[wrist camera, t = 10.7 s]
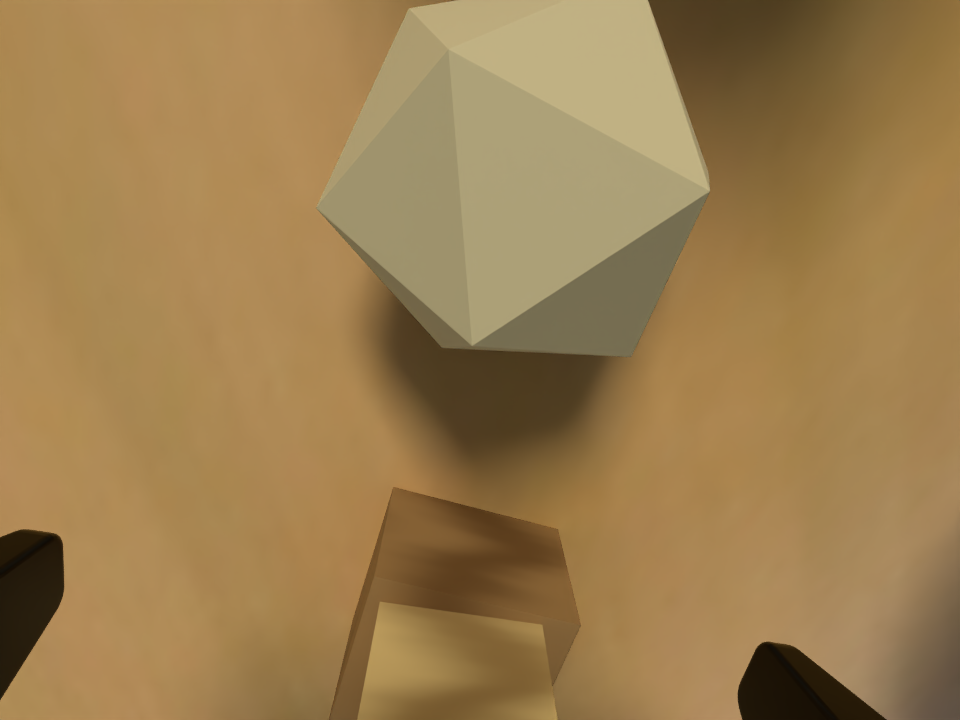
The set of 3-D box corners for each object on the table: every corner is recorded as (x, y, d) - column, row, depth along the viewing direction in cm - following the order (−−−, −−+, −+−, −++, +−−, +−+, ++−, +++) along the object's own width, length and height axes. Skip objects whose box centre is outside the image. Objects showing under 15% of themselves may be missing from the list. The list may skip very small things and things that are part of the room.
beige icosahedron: (459, 362, 21) (721, 461, 13) (216, 245, 15) (440, 305, 8) (553, 148, 22) (856, 129, 14) (353, -46, 16) (691, -260, 8)
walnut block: (557, 527, 23) (580, 625, 18) (504, 652, 25) (513, 769, 20) (393, 485, 22) (374, 576, 17) (353, 617, 24) (326, 731, 19)
